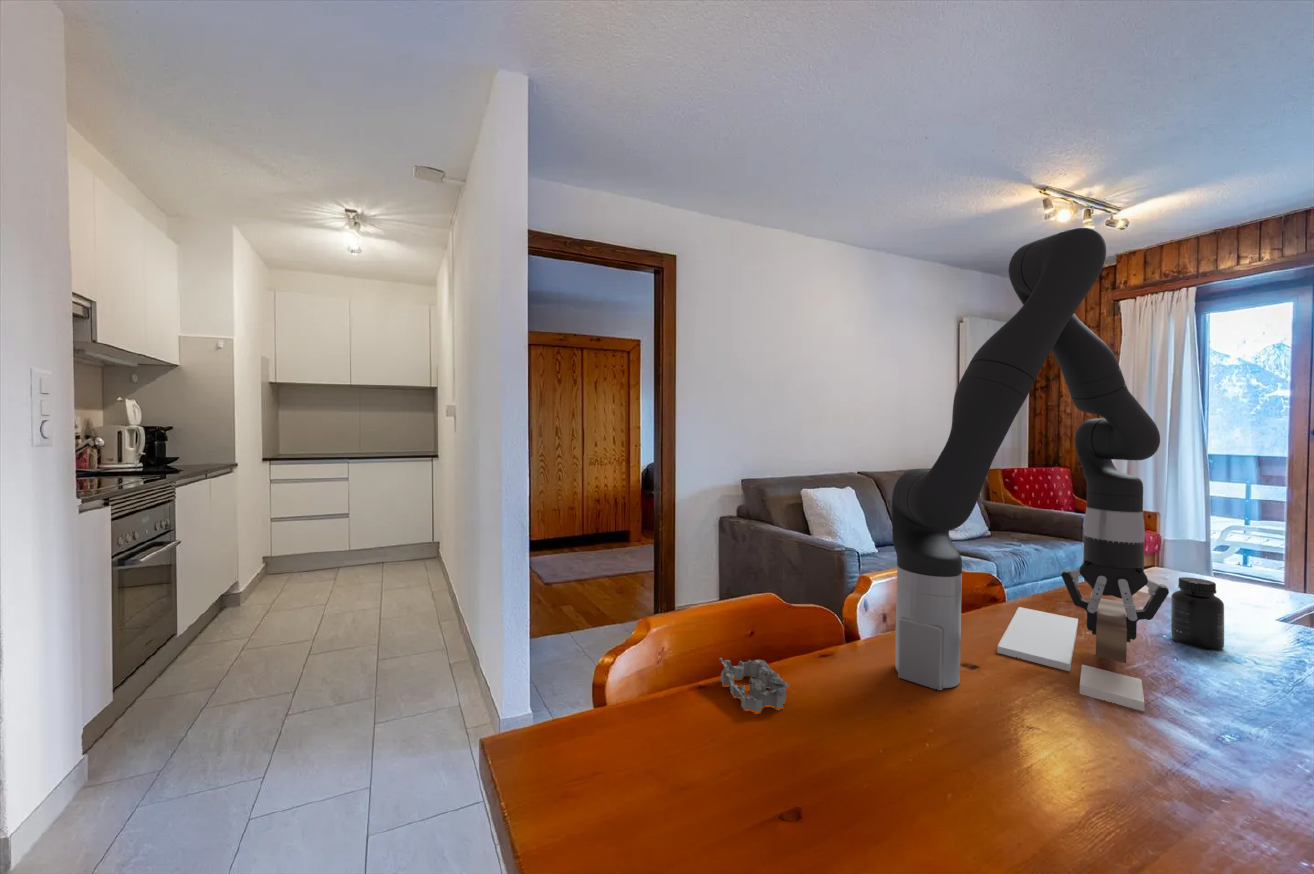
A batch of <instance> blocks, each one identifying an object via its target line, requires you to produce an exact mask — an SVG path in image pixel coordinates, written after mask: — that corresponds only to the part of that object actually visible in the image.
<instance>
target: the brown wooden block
mask: <svg viewBox="0 0 1314 874" xmlns="http://www.w3.org/2000/svg"><path fill="white" fill-rule="evenodd" d="M1127 647H1128V642H1127V626H1126V610H1125V606H1124V603H1123V601H1120V600H1114V599H1109V598H1108V599H1107V598H1102V597H1101V599H1100V602H1099V605H1098V608H1097V623H1096V635H1095V657H1098V658H1101V659H1102V658H1103V659H1107V660H1111V661H1116V662H1120V663H1123V664H1127V652H1128V651H1127V649H1128V648H1127Z"/></svg>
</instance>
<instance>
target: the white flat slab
mask: <svg viewBox="0 0 1314 874" xmlns="http://www.w3.org/2000/svg"><path fill="white" fill-rule="evenodd" d="M1079 679H1080V680H1079V694H1080V695H1083V696H1086V697H1089V698H1094V699H1097V700H1101V701H1104V700H1105V702H1109V703H1111V702H1112V703H1111V704H1115V703H1116V704H1117V705H1119V706H1123V707H1126V708H1130V709H1134V710H1136V711H1141V712H1145V696H1144V687H1143V683H1142V682H1143V681H1142V679H1141V678H1137V677H1132V676H1130V675H1125V674H1121V673H1117V672H1115V671H1109V670H1105V669H1102V668H1098V667H1093V666H1089V665H1085V664H1081V670H1080V678H1079ZM1116 704H1115V705H1116Z"/></svg>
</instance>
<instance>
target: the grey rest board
mask: <svg viewBox="0 0 1314 874" xmlns="http://www.w3.org/2000/svg"><path fill="white" fill-rule="evenodd" d="M1078 627H1079V618H1076V617H1071V616H1066V615H1061V614H1056V613H1051V612H1045V611H1041V610H1036V609H1032V608H1031V609H1030V608H1026V607H1020V606H1018V608H1017V609H1016V611H1015V614H1014V615H1013V617H1012V618H1011V620H1010V622H1009V624H1008V626H1007V628H1006V629H1005V631H1004V633H1003V635H1002V637H1001V638H1000V640H999V642H998V644H997V647H996V648H997V650H996V651H997V652H996V653H997V654H999V655H1000V654H1002V655H1005V656H1009V657H1012V658H1016V657H1017V658H1016V659H1020V658H1021V659H1020V660H1024V661H1028V662H1032V663H1036V664H1039V665H1044V666H1047V667H1050V668H1051V667H1052V668H1055V669H1059V670H1061V671H1062V670H1063V671H1067V672H1070V671H1071V669H1072V663H1073V662H1072V661H1073V654H1074V651H1075V645H1076V638H1077V633H1078Z"/></svg>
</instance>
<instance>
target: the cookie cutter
mask: <svg viewBox="0 0 1314 874" xmlns="http://www.w3.org/2000/svg"><path fill="white" fill-rule="evenodd" d="M718 661H720V662H721V663H722V664H723V667H724V668H723V670H722V671H721V673H720V683H721V682H722V684H723V685H729V686H730V688H729V689H730V691H729V692H730V693H731V694H732V695H733V696H736V697H741V699H742V700H740V701H741V704H740V707H741V706H742V707H743V708H744V709H750V710H754V711H755V712H757V711H762V712H763V709H762V707H763V706H765V705H771V706H774V707H775V708H777V709H778V708H779V709H780V708H783V709H784V705H783V703H784V702H786V703H787V688H788V687H790V685H791V684H789V683H787V682H786V681H784V680H783V678H782V677H781V676H780V674H779V673H777V672H776V671H774V669H772V668H771V666H769V664H768V663H767V661H766V660H765V659H764V660H763V659H754V660H751V659H748V660H747V661H745V662H743V661H742V660H739V662H737V663H738V664H737V665H733V664H732V662H731V660H730V659H724V660H723V658H722V656H720V657H718ZM732 665H733V666H732ZM744 675H750V676H752V677H759V678H752V677H750V676H749V677H750V678H749V685H750V692H749V693H747V694H746V692H745V685H742V684H741V685H742V686H741V687H740V685H739V684H735V681H734V678H735V679H742V678H744V677H745V676H744ZM744 679H745V678H744ZM766 687H770V689H766Z"/></svg>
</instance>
